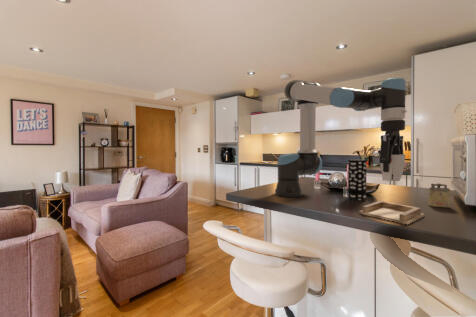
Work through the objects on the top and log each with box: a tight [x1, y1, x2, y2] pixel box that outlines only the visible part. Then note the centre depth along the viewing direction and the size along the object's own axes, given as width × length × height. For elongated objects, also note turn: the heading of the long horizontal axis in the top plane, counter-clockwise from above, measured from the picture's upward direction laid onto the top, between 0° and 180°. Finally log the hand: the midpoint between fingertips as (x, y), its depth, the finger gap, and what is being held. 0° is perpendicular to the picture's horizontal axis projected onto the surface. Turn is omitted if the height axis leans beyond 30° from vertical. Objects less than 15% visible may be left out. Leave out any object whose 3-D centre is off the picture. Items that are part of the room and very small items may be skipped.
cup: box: [379, 153, 406, 182], centre depth 82 cm, size 8×8×10 cm
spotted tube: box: [347, 159, 368, 201], centre depth 110 cm, size 8×8×20 cm
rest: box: [358, 200, 425, 226], centre depth 83 cm, size 16×16×3 cm
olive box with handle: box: [428, 182, 451, 208], centre depth 93 cm, size 7×4×10 cm, turn 66°
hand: (391, 179), depth 82 cm, fingers closed on cup, 8 cm apart
